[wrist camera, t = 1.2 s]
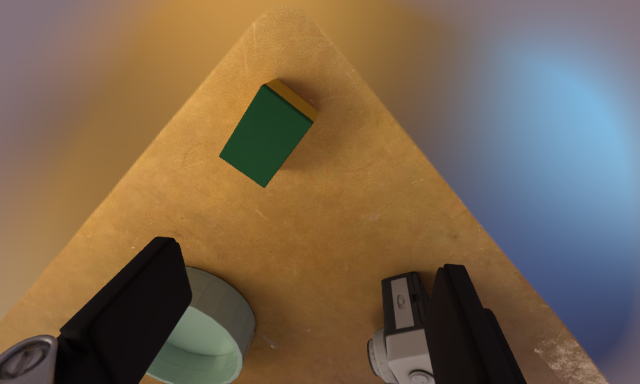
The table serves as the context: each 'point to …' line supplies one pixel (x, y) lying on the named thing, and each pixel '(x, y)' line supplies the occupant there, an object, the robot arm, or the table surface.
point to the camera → (402, 333)
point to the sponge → (268, 132)
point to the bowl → (207, 335)
